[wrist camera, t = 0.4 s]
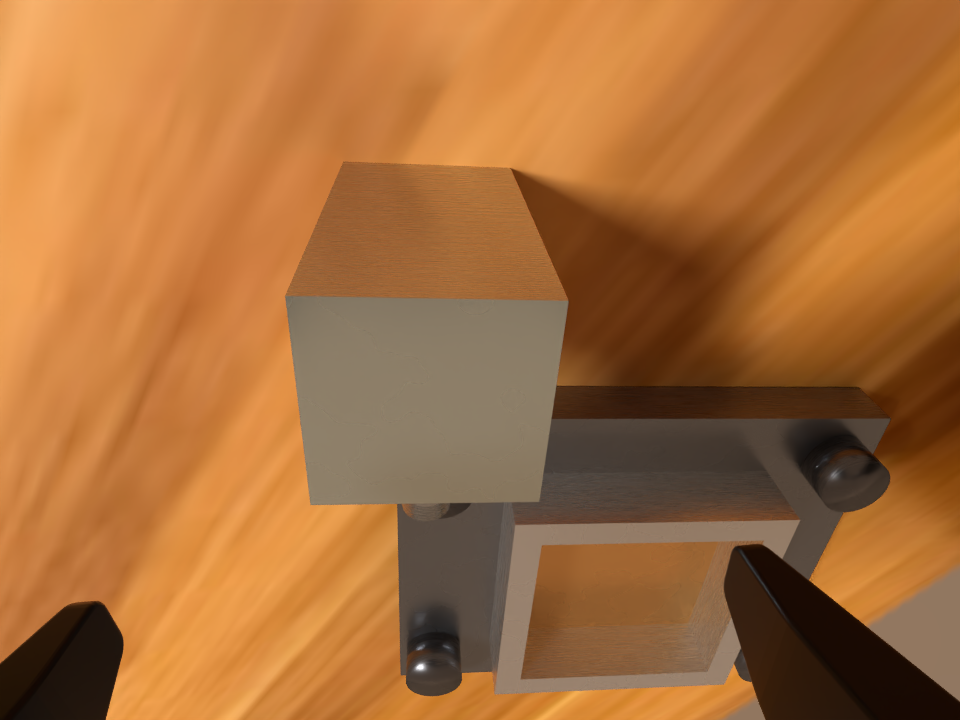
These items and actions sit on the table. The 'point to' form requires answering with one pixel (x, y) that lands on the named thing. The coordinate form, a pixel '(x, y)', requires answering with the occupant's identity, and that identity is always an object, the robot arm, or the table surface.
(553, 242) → the table surface
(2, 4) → the table surface
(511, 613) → the square hole base plate
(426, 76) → the table surface
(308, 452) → the brushed metal square peg
